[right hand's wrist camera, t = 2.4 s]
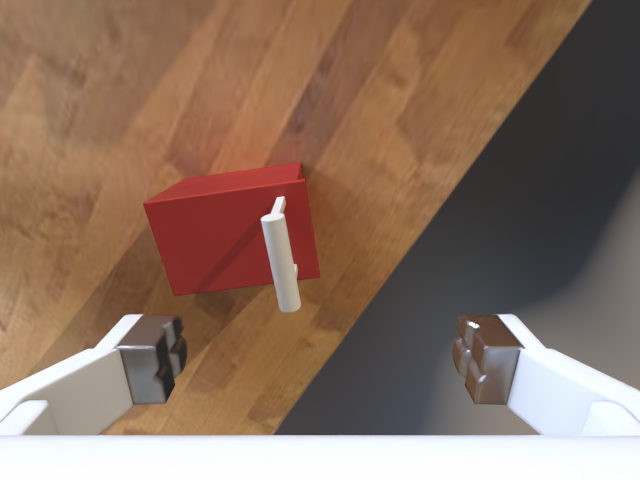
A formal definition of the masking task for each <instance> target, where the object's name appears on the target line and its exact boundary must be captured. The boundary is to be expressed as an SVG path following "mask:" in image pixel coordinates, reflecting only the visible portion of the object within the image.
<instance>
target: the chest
mask: <svg viewBox="0 0 640 480" xmlns="http://www.w3.org/2000/svg"><path fill="white" fill-rule="evenodd" d="M301 179H304V178H303V172H302V165H301V163H293V164H286V165H279V166H272V167H265V168H258V169H251V170H244V171H237V172H230V173H223V174H216V175H209V176H202V177H195V178H188V179H183V180H182V181H180V182H178V183H176V184H175V185H173V186H171V187H170V188H168V189H166V190H165V191H163V192H162V193H160V194H158V195H157V196H155V197H153V198H152V199H150V200H148V201H152V200H159V199H166V198H173V197H180V196H187V195H194V194H201V193H208V192H215V191H223V190H230V189H237V188H244V187H251V186H258V185H265V184H272V183H279V182H286V181H293V180H301Z"/></svg>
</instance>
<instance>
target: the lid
mask: <svg viewBox="0 0 640 480" xmlns="http://www.w3.org/2000/svg"><path fill="white" fill-rule="evenodd" d="M143 205H144V208H145V211H146V214H147V217H148V220H149V223H150V226H151V229H152V232H153V235H154V238H155V241H156V244H157V247H158V249H159V252H160V255H161V258H162V261H163V264H164V267H165V270H166V273H167V276H168V279H169V282H170V285H171V288H172V291H173V294H174V296H180V295H188V294H196V293H203V292H211V291H219V290H226V289H234V288H242V287H250V286H257V285H265V284H273V283H274V284H275V289H276V294H277V298H278V303H279V308H280V310H281V311H282V312H285V313H290V312H294V311H296V310H298V309H299V308H300V307H301V301H300V296H299V290H298V285H297V280H303V279H311V278H319V277H320V272H319V265H318V259H317V252H316V246H315V240H314V233H313V227H312V220H311V214H310V208H309V201H308V195H307V188H306V182H305V179H301V180H293V181H286V182H279V183H272V184H265V185H258V186H251V187H244V188H237V189H230V190H223V191H215V192H208V193H201V194H194V195H187V196H180V197H173V198H166V199H159V200H152V201H147V202H145V203H143Z"/></svg>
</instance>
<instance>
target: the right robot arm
mask: <svg viewBox="0 0 640 480" xmlns="http://www.w3.org/2000/svg"><path fill="white" fill-rule="evenodd" d="M183 328H184V326H183V321H182V318H181V317H180V316H179V315H148V314H146V315H144V314H129V315H125V316H124V317H123V318H122V319H121V320H120V321H119V322H118V323H117V324H116V325H115V326H114V327H113V328H112V330H111V331H110V332H109V333H108V334H107V335H106V336H105V337H104V338H103V339H102V340H101V341H100V342H99V343H98V345H97V346H96V347H95V348H94V349H86V350H84V351H82V352H80V353H78V354H76V355H74V356H72V357H70V358H68V359H66V360H63V361H61V362H59V363H57V364H55V365H53V366H51V367H49V368H47V369H45V370H42V371H40V372H38V373H36V374H34V375H32V376H30V377H28V378H26V379H24V380H22V381H19V382H17V383H15V384H13V385H11V386H9V387H7V388H5V389H3V390H1V391H0V480H640V391H639V390H637V389H635V388H633V387H631V386H629V385H627V384H625V383H622V382H620V381H618V380H616V379H614V378H612V377H610V376H608V375H606V374H604V373H602V372H599V371H597V370H595V369H593V368H591V367H589V366H587V365H585V364H583V363H581V362H579V361H576V360H574V359H572V358H570V357H568V356H566V355H564V354H562V353H560V352H558V351H556V350H554V349H546V348H545V347H544V346H543V345H542V344H541V342H540V341H539V340H538V339H537V338H536V337H535V336H534V335H533V334H532V333H531V332H530V331H529V329H528V328H527V327H526V326H525V325H524V324H523V323H522V322H521V321H520V320H519V319H518V318H517V317H516V316H515V315H512V314H502V315H468V316H459V318H458V320H457V325H456V328H457V330H458V332H459V334H460V335H459V336H458V337H457V338H456V339H455V340H454V344H453V359H454V363H455V366H456V369H457V371H458V373H459V374H460V375H462V376H463V377H465V378H466V382H465V386H466V388H467V390H468V392H469V394H470V396H471V398H472V400H473V402H474V403H475V404H497V405H507V407H508V408H509V409H511V410H512V411H513V412H514V413H515V414H517V415H518V416H519V417H520V418H521V419H523V420H524V421H525V422H526V423H528V424H529V425H530V426H531V427H532V428H534V429H535V430H536V431H537V432H539V433H540V434H541V435H99V434H100V433H102V432H103V431H104V430H105V429H106V428H108V427H109V426H110V425H111V424H113V423H114V422H115V421H116V420H117V419H119V418H120V417H121V416H122V415H124V414H125V413H126V412H127V411H128V410H130V409H131V408H132V407H133V405H143V404H166V402H167V400H168V398H169V396H170V394H171V392H172V390H173V388H174V386H175V382H174V378H175V377H177V376H178V375H180V374H181V373H182V371H183V369H184V366H185V363H186V358H187V344H186V340H185V339H184V338H183V337H182V336H181V335H180V334H181V332H182V330H183Z"/></svg>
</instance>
